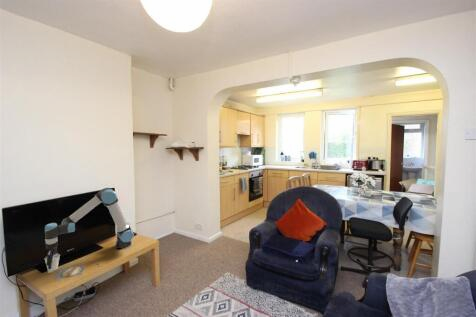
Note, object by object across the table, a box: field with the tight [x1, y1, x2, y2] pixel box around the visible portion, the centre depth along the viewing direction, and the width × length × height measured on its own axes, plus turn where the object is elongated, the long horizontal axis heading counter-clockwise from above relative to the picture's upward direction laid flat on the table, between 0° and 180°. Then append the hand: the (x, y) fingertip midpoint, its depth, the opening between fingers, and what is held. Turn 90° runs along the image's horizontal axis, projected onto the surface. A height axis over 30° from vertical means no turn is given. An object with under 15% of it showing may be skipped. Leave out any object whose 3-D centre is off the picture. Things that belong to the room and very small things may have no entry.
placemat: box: [53, 264, 86, 281], centre depth 181 cm, size 18×16×1 cm
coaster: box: [61, 266, 81, 278], centre depth 180 cm, size 13×13×1 cm
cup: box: [44, 253, 61, 271], centre depth 184 cm, size 10×10×11 cm
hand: (52, 268), depth 184 cm, fingers open, 11 cm apart
